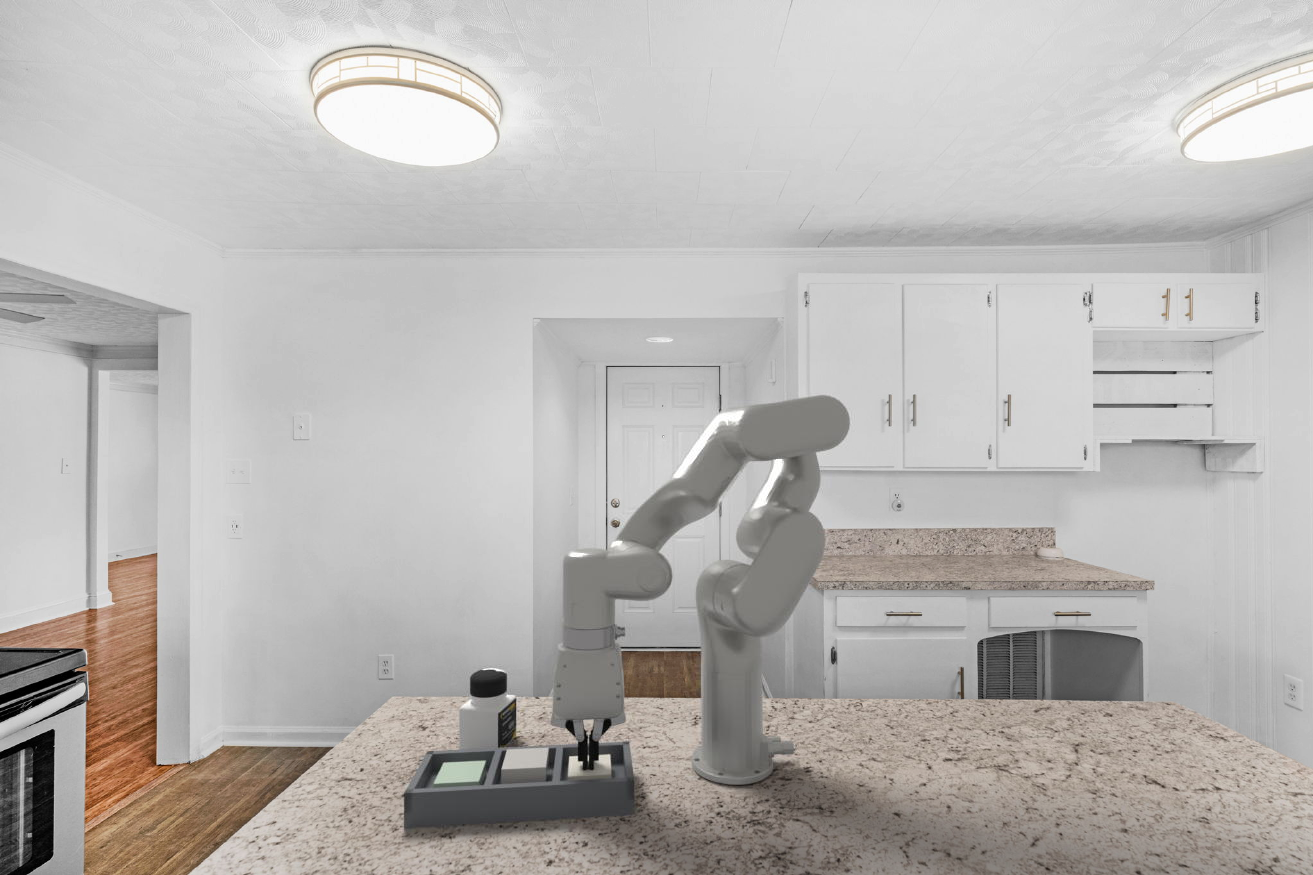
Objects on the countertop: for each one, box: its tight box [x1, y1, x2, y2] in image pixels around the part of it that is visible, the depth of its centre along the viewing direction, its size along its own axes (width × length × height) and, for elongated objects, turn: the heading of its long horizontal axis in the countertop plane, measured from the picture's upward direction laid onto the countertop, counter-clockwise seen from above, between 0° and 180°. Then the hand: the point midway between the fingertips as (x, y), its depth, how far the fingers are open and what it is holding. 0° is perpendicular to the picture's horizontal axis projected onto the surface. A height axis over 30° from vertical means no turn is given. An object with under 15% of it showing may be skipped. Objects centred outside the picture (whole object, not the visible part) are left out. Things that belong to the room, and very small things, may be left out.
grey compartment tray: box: [403, 741, 636, 829], centre depth 91 cm, size 30×12×4 cm, turn 96°
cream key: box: [568, 754, 611, 781], centre depth 92 cm, size 6×6×2 cm
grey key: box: [501, 748, 549, 784], centre depth 91 cm, size 6×6×2 cm
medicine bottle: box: [458, 667, 517, 750], centre depth 108 cm, size 7×7×12 cm
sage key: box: [433, 761, 486, 788], centre depth 90 cm, size 6×6×2 cm
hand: (588, 765), depth 92 cm, fingers closed
